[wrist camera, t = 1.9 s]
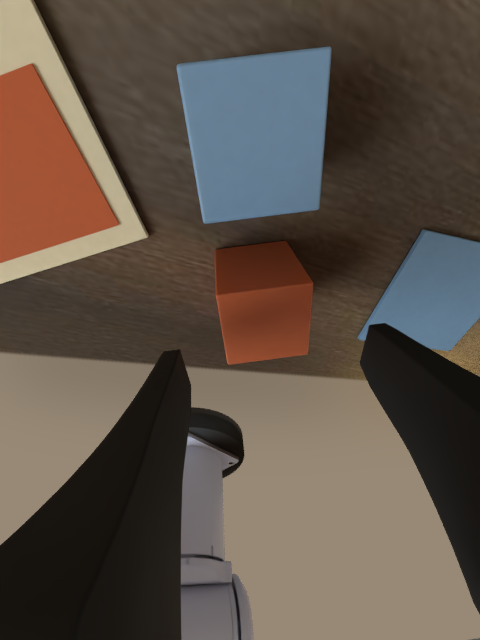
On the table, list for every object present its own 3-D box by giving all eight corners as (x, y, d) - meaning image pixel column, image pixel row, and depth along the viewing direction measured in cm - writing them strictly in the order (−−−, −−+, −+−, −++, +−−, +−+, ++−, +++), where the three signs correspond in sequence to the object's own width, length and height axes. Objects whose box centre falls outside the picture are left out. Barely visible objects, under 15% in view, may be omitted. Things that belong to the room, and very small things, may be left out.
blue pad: (357, 337, 20) (359, 339, 19) (422, 228, 15) (426, 230, 15) (447, 348, 21) (449, 351, 21) (530, 253, 17) (535, 255, 16)
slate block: (287, 74, 11) (333, 44, 7) (286, 184, 13) (320, 210, 9) (188, 86, 11) (175, 62, 7) (205, 194, 13) (203, 224, 9)
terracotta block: (286, 239, 15) (314, 283, 11) (285, 300, 17) (308, 354, 13) (214, 248, 15) (215, 295, 11) (223, 308, 17) (227, 365, 13)
